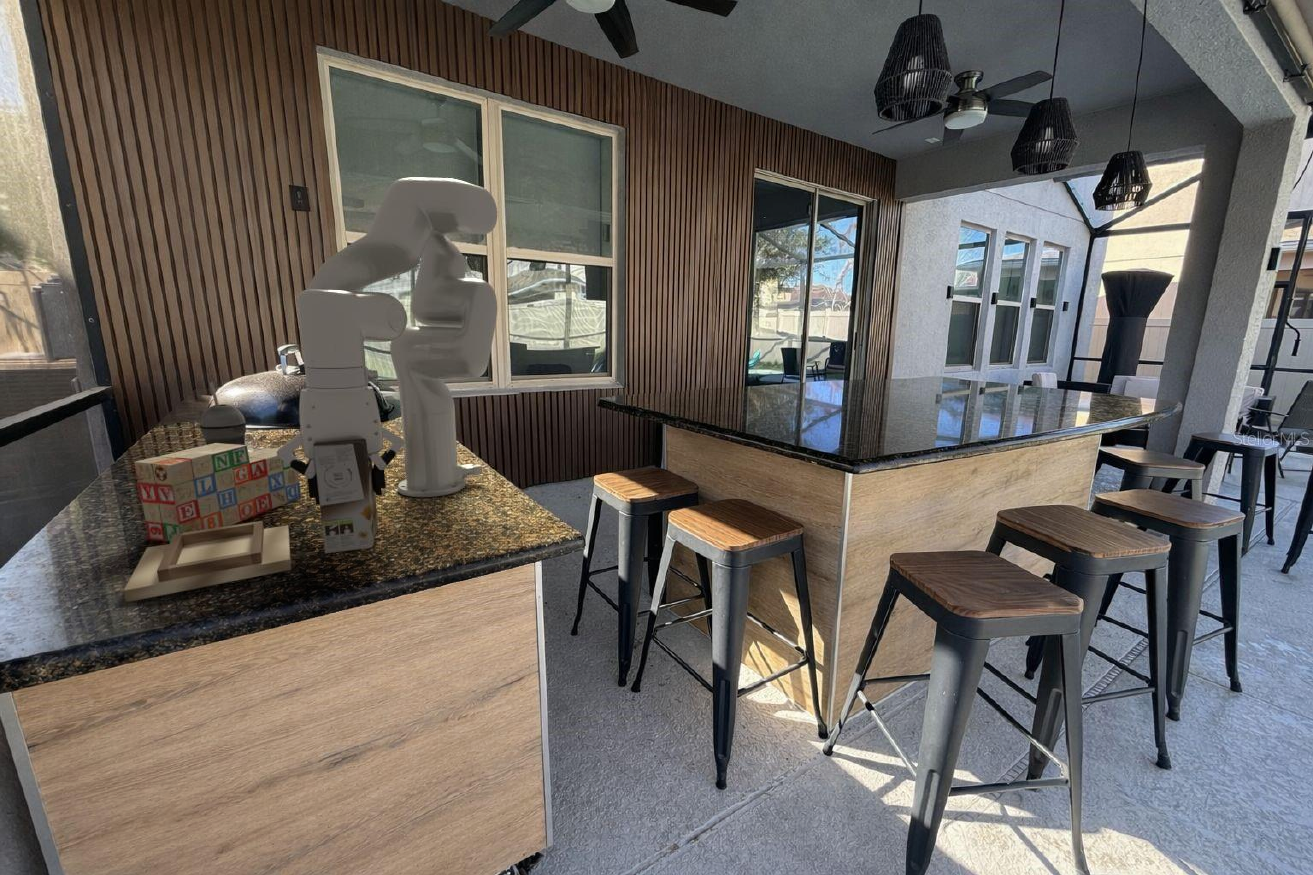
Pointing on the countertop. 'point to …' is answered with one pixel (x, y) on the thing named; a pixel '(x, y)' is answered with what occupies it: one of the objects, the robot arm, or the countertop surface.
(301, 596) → the countertop surface
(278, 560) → the base board
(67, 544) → the countertop surface
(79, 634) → the countertop surface
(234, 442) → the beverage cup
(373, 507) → the coffee box
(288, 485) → the stack of blocks
